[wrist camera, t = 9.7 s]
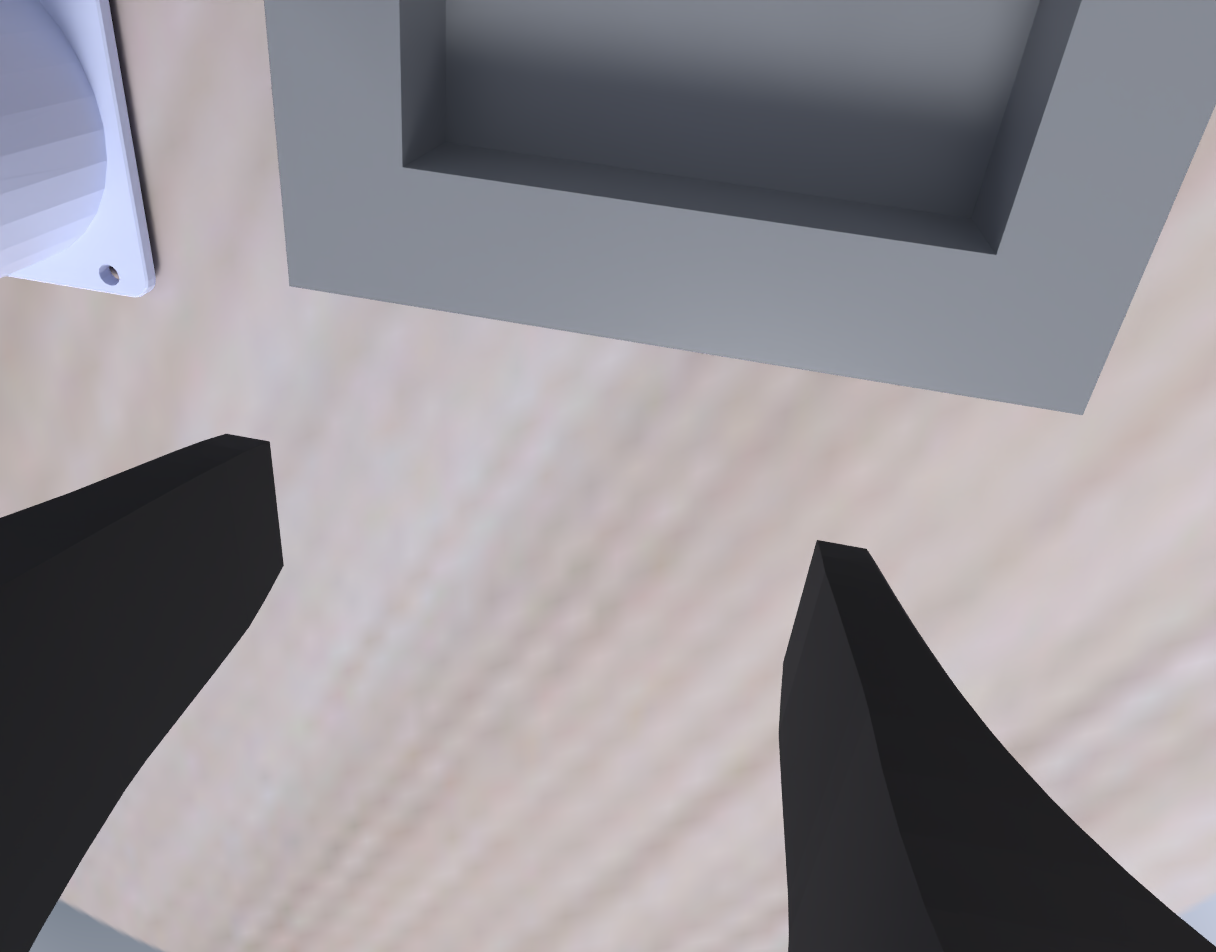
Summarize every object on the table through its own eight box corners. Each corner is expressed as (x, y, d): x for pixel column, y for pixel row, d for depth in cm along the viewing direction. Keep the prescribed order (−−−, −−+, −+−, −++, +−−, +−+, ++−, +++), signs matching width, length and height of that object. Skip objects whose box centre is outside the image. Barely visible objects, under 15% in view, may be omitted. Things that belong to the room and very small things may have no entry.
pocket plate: (349, 245, 21) (289, 286, 19) (312, -465, 15) (214, -550, 12) (1044, 353, 20) (1083, 414, 17) (1330, -383, 13) (1456, -459, 11)
